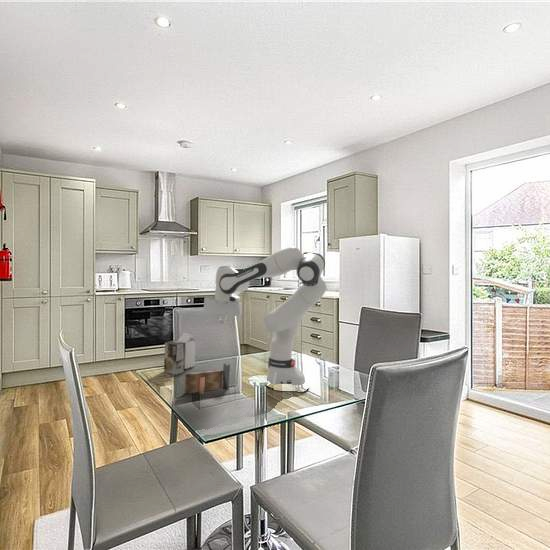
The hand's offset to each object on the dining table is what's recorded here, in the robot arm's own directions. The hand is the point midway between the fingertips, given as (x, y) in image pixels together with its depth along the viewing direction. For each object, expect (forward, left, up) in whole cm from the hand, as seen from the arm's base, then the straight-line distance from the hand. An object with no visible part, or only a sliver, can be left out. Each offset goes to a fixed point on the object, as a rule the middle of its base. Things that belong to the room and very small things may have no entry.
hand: (222, 323), depth 210 cm
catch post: (+1, +24, -29) cm, 38 cm away
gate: (0, +21, -29) cm, 36 cm away
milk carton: (+24, -12, -29) cm, 40 cm away
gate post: (-8, +14, -29) cm, 33 cm away
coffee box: (+26, -1, -29) cm, 39 cm away
